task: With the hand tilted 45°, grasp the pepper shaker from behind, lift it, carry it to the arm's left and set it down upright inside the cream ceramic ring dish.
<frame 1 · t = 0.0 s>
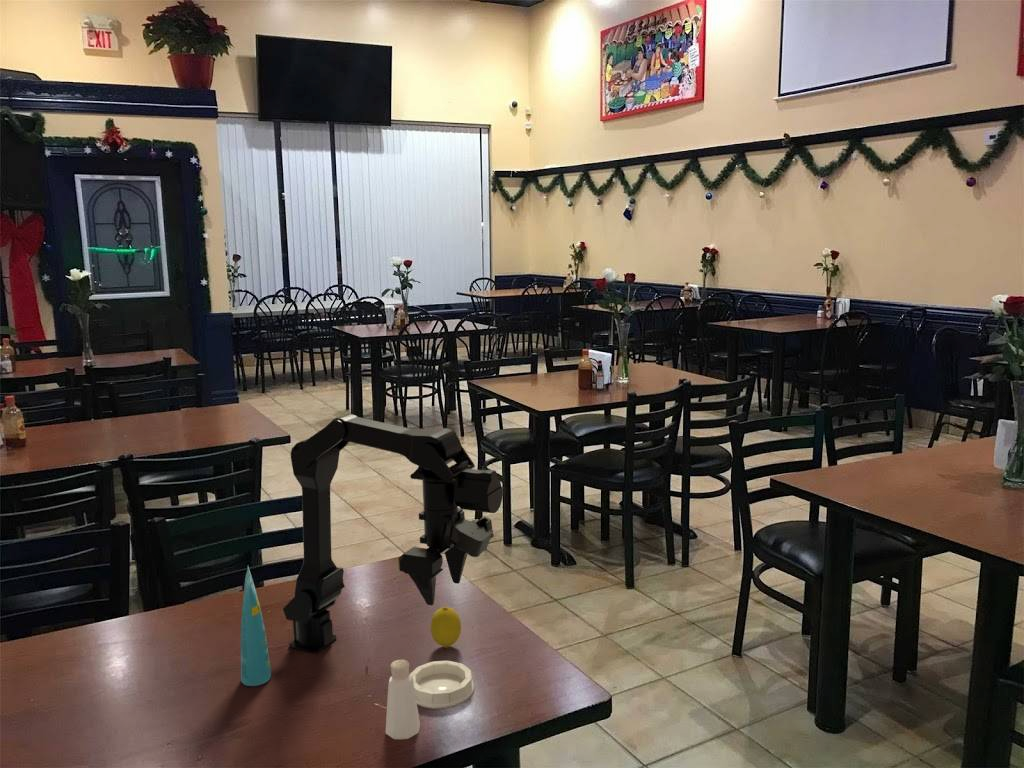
hand: (443, 593, 137), 15 cm above the table, tool pointing down, fingers open, 9 cm apart
tube: (257, 680, 139), on the table
pepper shaker: (403, 730, 124), on the table
ring dish: (440, 689, 135), on the table
lemon: (446, 648, 149), on the table
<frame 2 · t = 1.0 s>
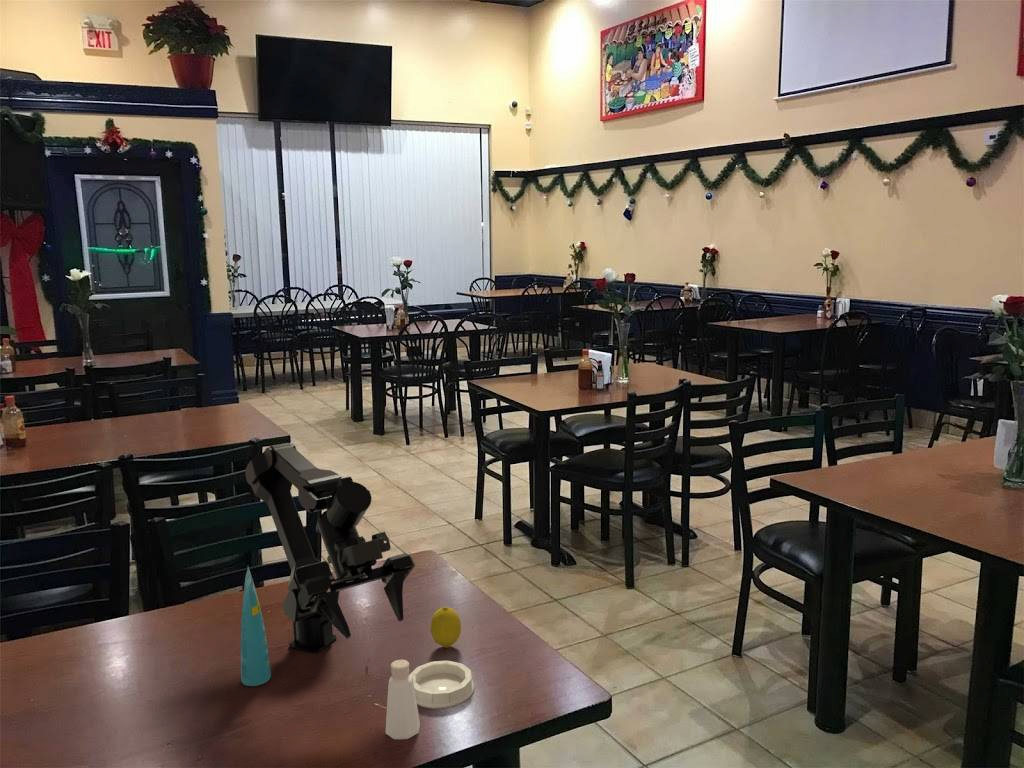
hand: (375, 628, 128), 13 cm above the table, tool tilted 45°, fingers open, 9 cm apart
nothing on the table moved.
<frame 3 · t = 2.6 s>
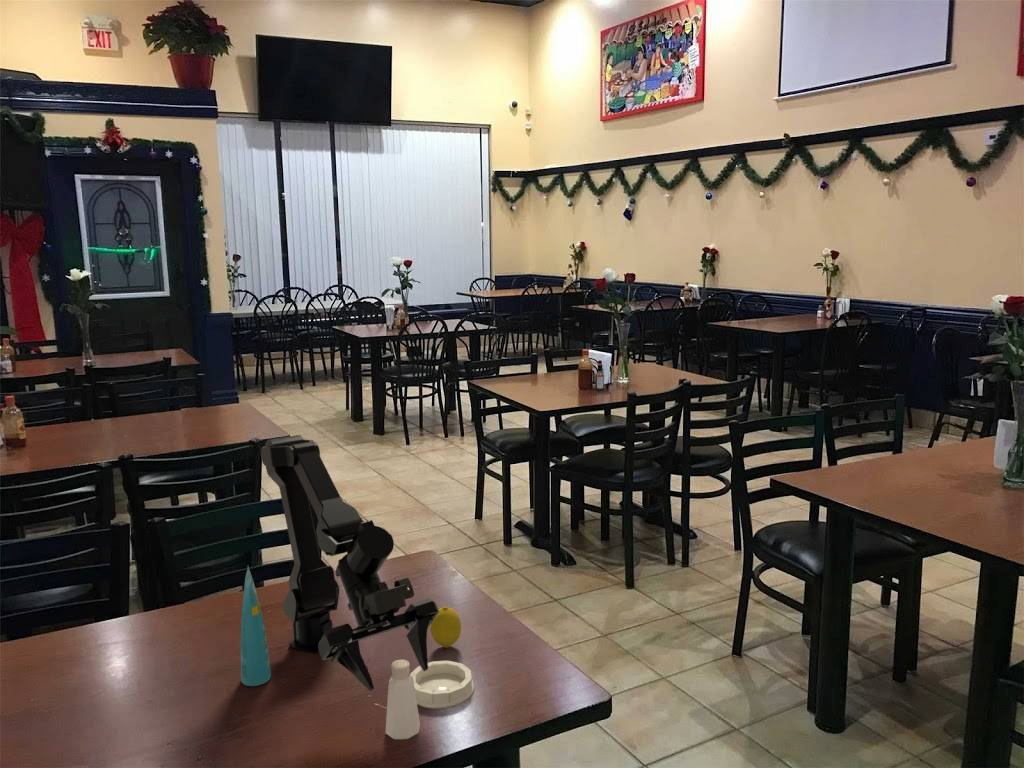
hand: (399, 679, 123), 8 cm above the table, tool tilted 45°, fingers open, 9 cm apart
nothing on the table moved.
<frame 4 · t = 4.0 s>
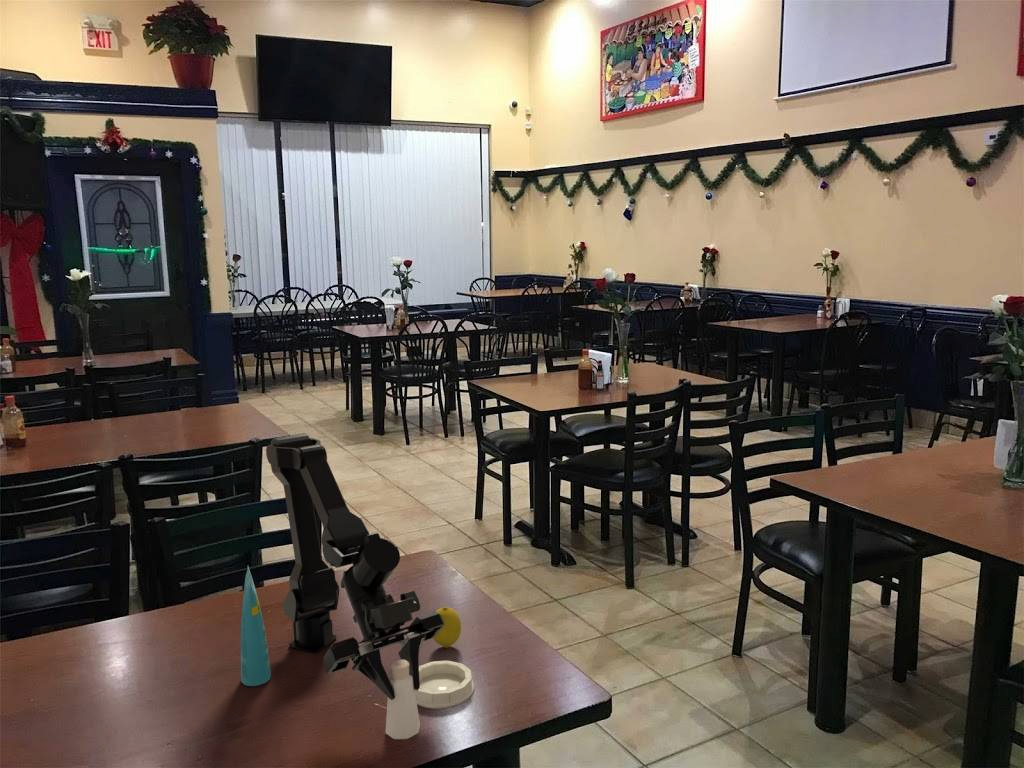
hand: (405, 694, 122), 7 cm above the table, tool tilted 45°, fingers closed on pepper shaker, 4 cm apart
pepper shaker: (403, 730, 124), on the table, touching gripper
everything else where it was.
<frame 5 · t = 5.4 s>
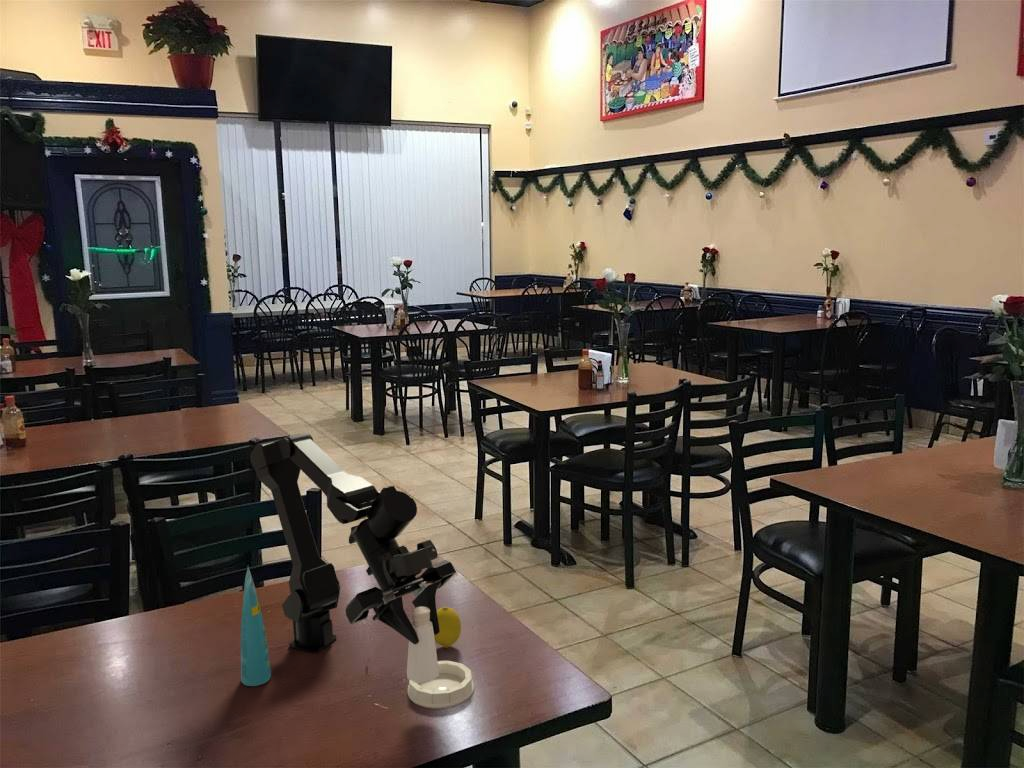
hand: (427, 638, 126), 13 cm above the table, tool tilted 45°, fingers closed on pepper shaker, 4 cm apart
pepper shaker: (423, 675, 128), point 6 cm above the table, touching gripper
everything else where it was.
when the fingers open (8 cm above the table, at t = 6.9 s): pepper shaker drops 1 cm, resting on ring dish.
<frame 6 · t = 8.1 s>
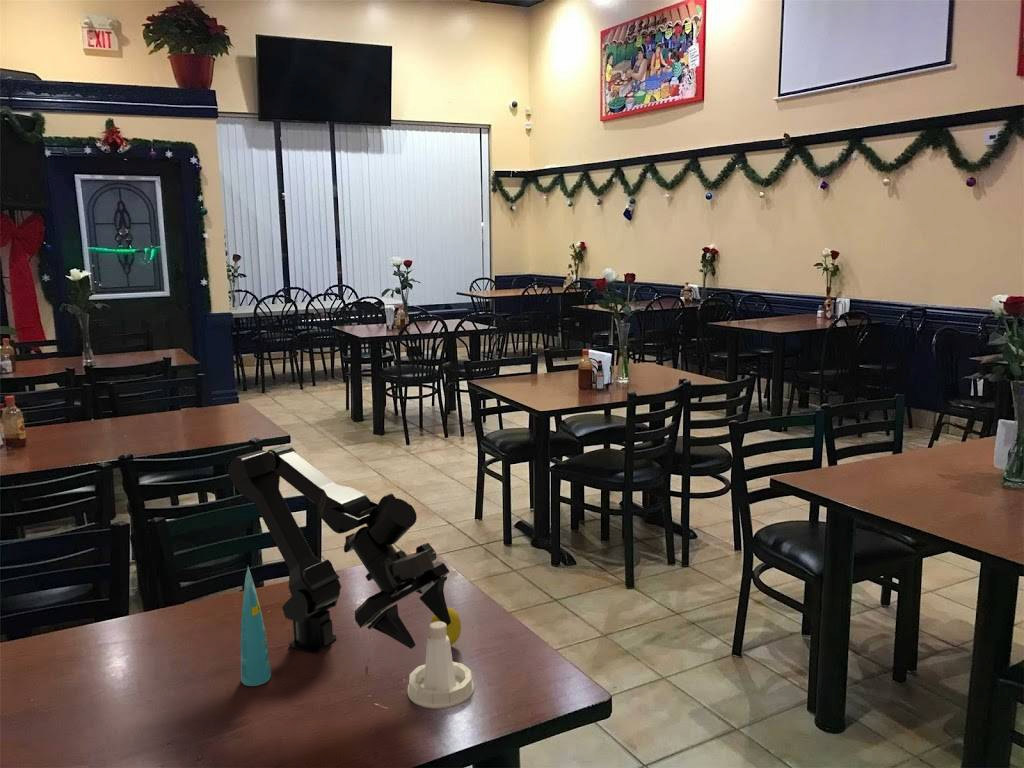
hand: (431, 635, 134), 9 cm above the table, tool tilted 45°, fingers open, 9 cm apart
pepper shaker: (439, 687, 135), resting on ring dish
everything else where it was.
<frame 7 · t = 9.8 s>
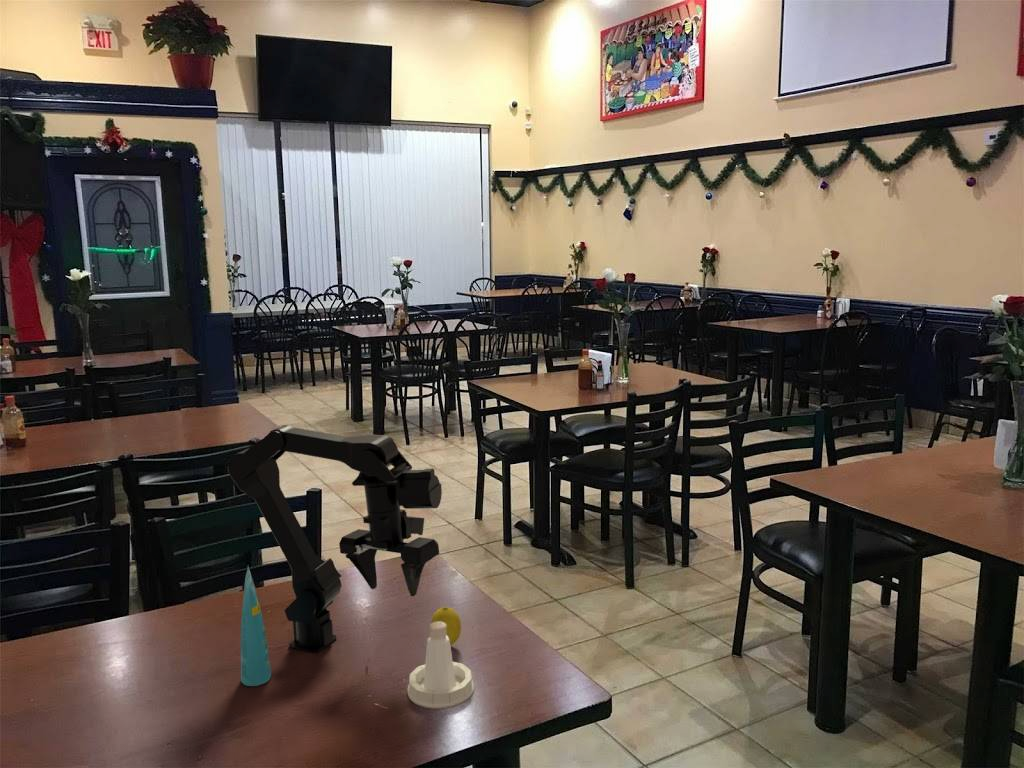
hand: (393, 591, 145), 12 cm above the table, tool pointing down, fingers open, 9 cm apart
nothing on the table moved.
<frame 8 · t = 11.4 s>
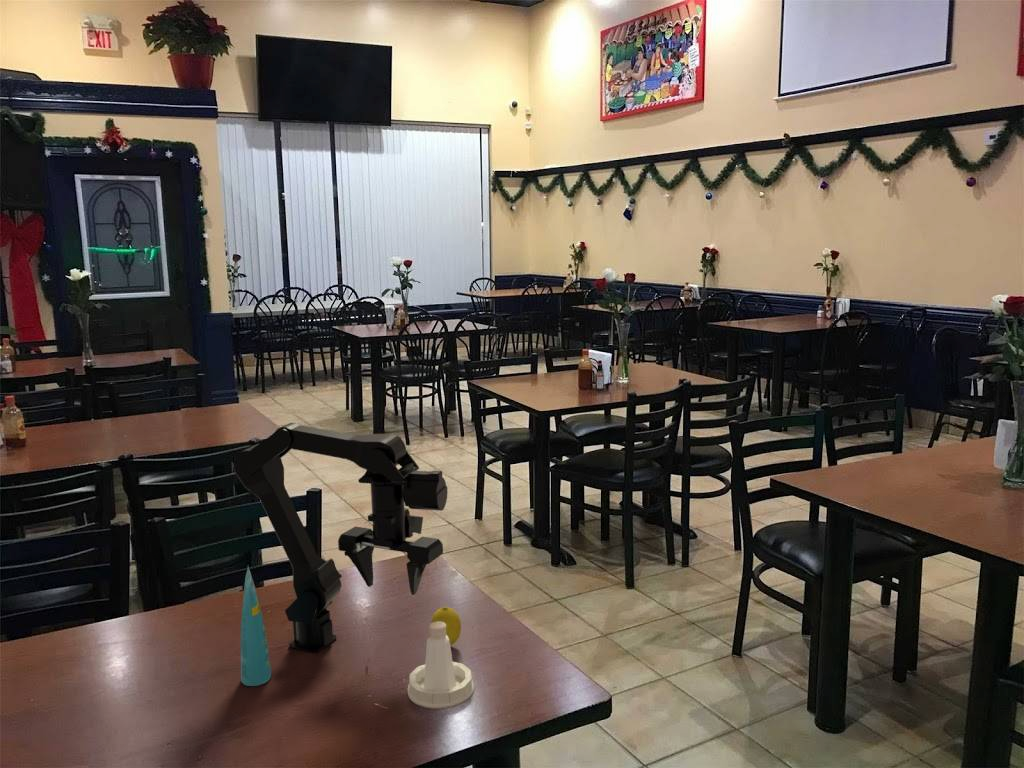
hand: (392, 589, 145), 12 cm above the table, tool pointing down, fingers open, 9 cm apart
nothing on the table moved.
at the end: pepper shaker 0.2 cm from the ring dish (horizontally); pepper shaker tilted 0°; the gripper is holding nothing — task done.
